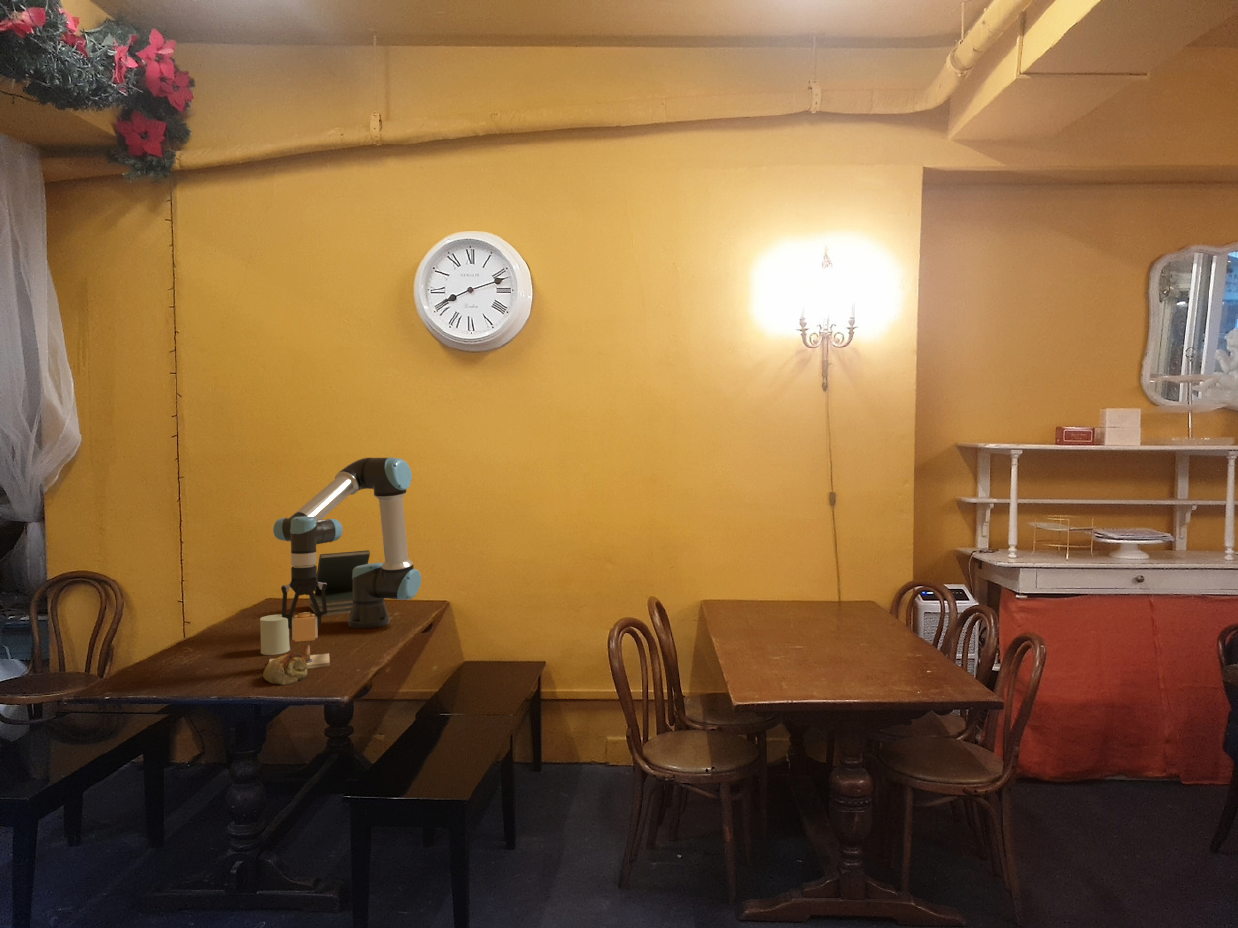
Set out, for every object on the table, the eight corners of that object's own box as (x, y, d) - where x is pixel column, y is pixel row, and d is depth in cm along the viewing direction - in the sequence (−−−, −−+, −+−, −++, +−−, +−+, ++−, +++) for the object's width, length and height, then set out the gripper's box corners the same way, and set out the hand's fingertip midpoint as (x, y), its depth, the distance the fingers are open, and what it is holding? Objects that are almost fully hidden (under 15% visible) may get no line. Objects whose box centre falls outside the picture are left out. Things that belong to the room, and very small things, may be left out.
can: (296, 648, 274) (295, 614, 273) (276, 656, 265) (275, 620, 264) (274, 646, 277) (273, 612, 276) (254, 653, 268) (253, 618, 267)
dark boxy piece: (365, 601, 347) (364, 544, 346) (376, 610, 330) (375, 550, 329) (309, 608, 336) (307, 549, 334) (317, 617, 319) (316, 555, 317)
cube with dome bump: (315, 635, 258) (314, 610, 257) (315, 639, 252) (314, 614, 252) (295, 637, 256) (294, 612, 255) (294, 641, 250) (294, 616, 250)
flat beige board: (329, 656, 264) (328, 638, 263) (329, 666, 253) (329, 646, 253) (269, 662, 257) (269, 643, 257) (267, 672, 247) (267, 652, 247)
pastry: (301, 684, 236) (300, 658, 236) (257, 686, 234) (256, 659, 234) (313, 670, 250) (312, 645, 249) (271, 672, 248) (270, 646, 248)
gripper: (335, 562, 260) (336, 632, 261) (271, 565, 253) (273, 637, 254) (335, 565, 253) (337, 637, 254) (270, 569, 246) (271, 643, 247)
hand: (305, 637), depth 254 cm, fingers closed on cube with dome bump, 6 cm apart
